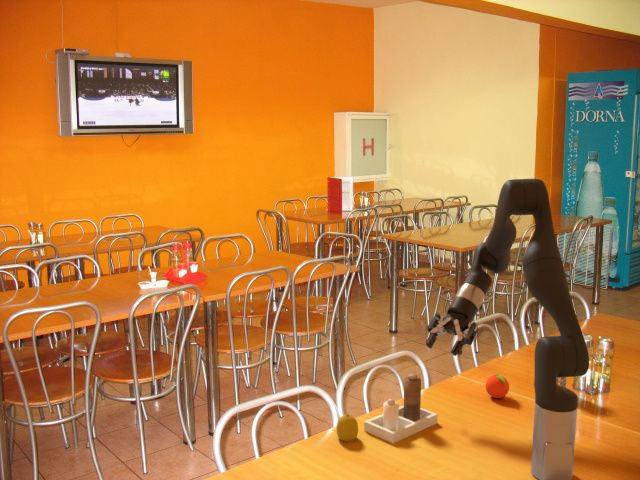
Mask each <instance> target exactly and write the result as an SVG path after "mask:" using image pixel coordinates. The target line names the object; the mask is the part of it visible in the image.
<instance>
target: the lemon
mask: <svg viewBox="0 0 640 480" xmlns="http://www.w3.org/2000/svg"><path fill="white" fill-rule="evenodd" d="M358 433H359V425H358V421H357V419H356V418H355V416H353V415H351V414H349V413H346V414H344V415H342V416H340V417H339V419H338V421H337V423H336V435H337V437H338V439H339V440H341V441H342V442H345V443H347V442H349V443H350V442H353V441H354V440H356V439H357V438H358V437H357V436H358V435H359V434H358Z"/></svg>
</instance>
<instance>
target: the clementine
mask: <svg viewBox="0 0 640 480" xmlns="http://www.w3.org/2000/svg"><path fill="white" fill-rule="evenodd" d="M485 390H486V393H487V394H488V395H489V396H490V397H492V398H494V399H502V398H504V397H506V395H508V393H509V390H510V383H509V381H508V380H507V378H506V377H504V375H501V374H493V375H491V376H489V377H487V379H486V381H485Z"/></svg>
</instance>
